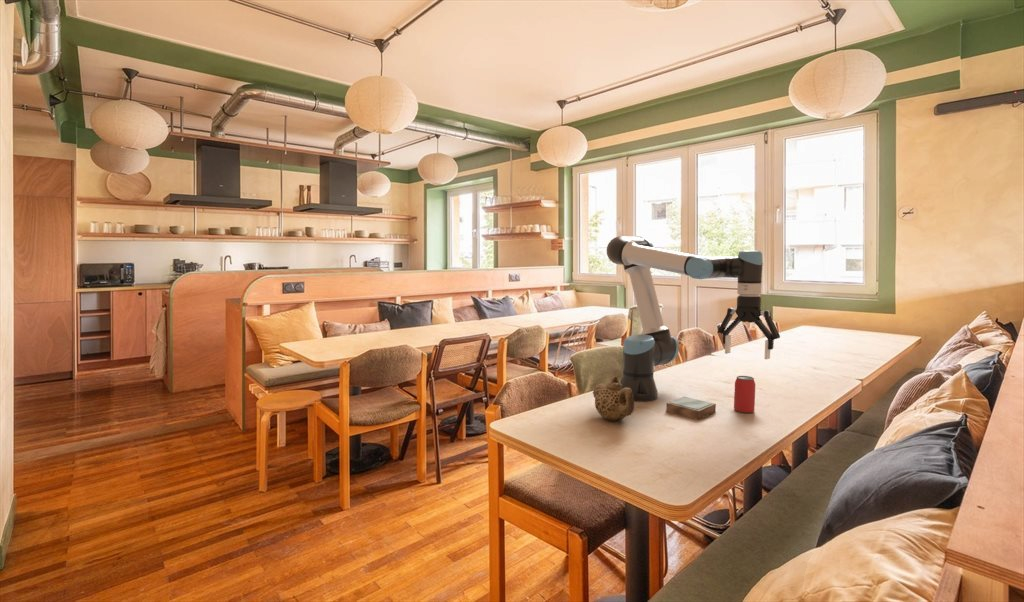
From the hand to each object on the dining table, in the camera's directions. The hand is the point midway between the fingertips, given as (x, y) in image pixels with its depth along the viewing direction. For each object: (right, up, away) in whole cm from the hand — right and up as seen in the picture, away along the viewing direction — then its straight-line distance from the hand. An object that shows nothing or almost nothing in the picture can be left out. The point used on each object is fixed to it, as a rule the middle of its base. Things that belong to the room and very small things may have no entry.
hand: (746, 355), depth 173 cm
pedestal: (-19, -20, +1) cm, 28 cm away
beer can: (0, -20, +2) cm, 20 cm away
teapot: (-48, -21, -7) cm, 53 cm away
